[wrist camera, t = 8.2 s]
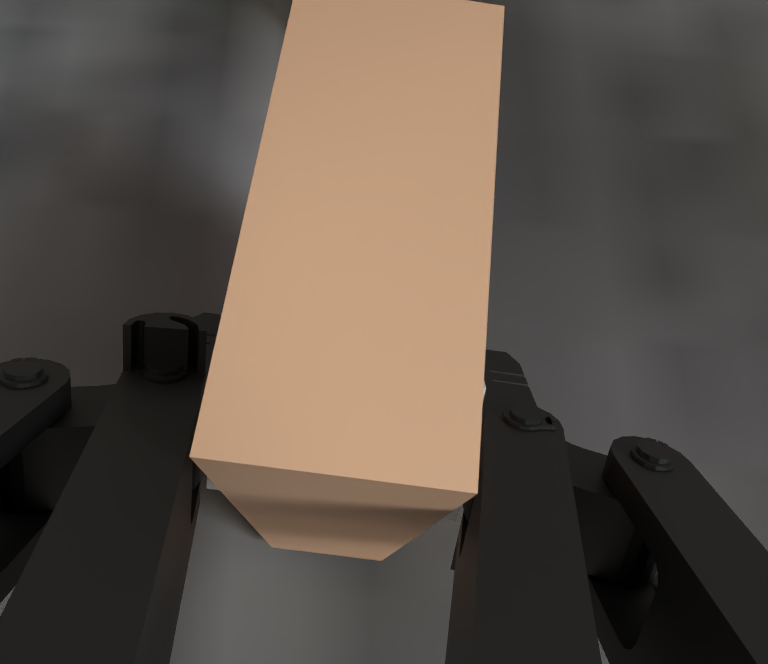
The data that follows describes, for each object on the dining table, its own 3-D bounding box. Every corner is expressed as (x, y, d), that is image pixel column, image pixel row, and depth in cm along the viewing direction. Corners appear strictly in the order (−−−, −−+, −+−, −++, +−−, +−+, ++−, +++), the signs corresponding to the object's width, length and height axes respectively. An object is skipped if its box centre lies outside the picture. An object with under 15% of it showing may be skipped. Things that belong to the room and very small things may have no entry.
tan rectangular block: (406, 325, 21) (504, 6, 10) (381, 560, 18) (478, 494, 7) (311, 312, 21) (298, -27, 9) (271, 547, 18) (188, 456, 7)
